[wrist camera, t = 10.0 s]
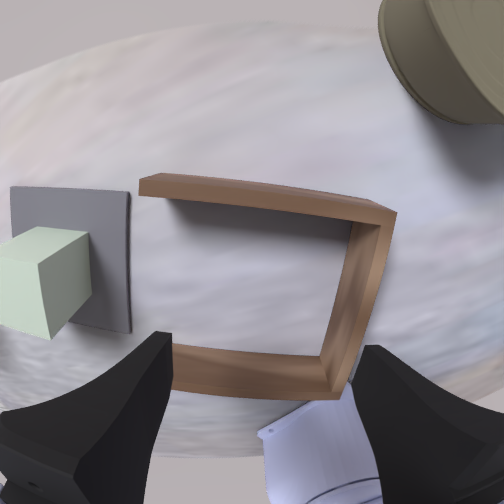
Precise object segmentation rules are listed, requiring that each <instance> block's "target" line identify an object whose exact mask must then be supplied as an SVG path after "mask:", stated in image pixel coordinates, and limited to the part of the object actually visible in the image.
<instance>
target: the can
mask: <svg viewBox="0 0 504 504" xmlns="http://www.w3.org/2000/svg"><path fill="white" fill-rule="evenodd" d="M378 30H379V36H380V41H381V44H382V47H383V50H384V53H385V55H386V58H387V60H388V62H389V64H390V66H391V68H392V70H393V71H394V73H395V75H396V76H397V78H398V79H399V81H400V82H401V84H402V85H403V86H404V87H405V89H406V90H407V91H408V92H409V93H410V95H411V96H412V97H413V98H414V99H415V100H416V101H417V102H418V103H419V104H421V105H422V106H423V107H424V108H425V109H427V110H428V111H429V112H431V113H432V114H434V115H436V116H437V117H439V118H441V119H443V120H446V121H448V122H452V123H455V124H504V0H383V1H382V3H381V5H380V9H379V13H378Z"/></svg>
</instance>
